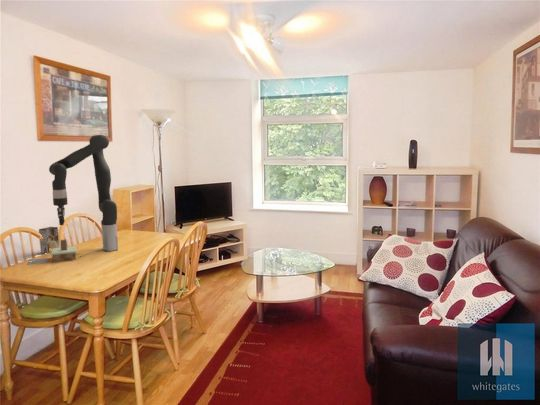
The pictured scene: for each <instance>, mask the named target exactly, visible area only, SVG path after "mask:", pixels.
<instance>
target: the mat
mask: <svg viewBox="0 0 540 405" xmlns="http://www.w3.org/2000/svg"><path fill="white" fill-rule="evenodd" d="M48 259H49V257H44V258H43V257H42V258H32V259H28V261H27V263H26V266H30V265H40V264H47V262H48ZM33 260H34V261H33ZM29 261H32V262H29Z"/></svg>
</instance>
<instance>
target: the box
mask: <svg viewBox="0 0 540 405" xmlns="http://www.w3.org/2000/svg"><path fill="white" fill-rule="evenodd" d="M51 257H52V263H57V262H67V261H75V260H76V259H77V252H76V253H68V254H58V255H51Z"/></svg>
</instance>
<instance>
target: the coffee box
mask: <svg viewBox="0 0 540 405" xmlns="http://www.w3.org/2000/svg"><path fill="white" fill-rule="evenodd" d="M38 233H40V234H41V235H42V237H43V241H42V240H41V239H40V238H39V244H40V245H39V247H40V253H42V254H51V253H50V251H49V248H51V249H52V250H53V248H60V240H59V229H58V227H57V226H47V227H43V228H39V229H38Z"/></svg>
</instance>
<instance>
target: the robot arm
mask: <svg viewBox="0 0 540 405" xmlns="http://www.w3.org/2000/svg"><path fill="white" fill-rule="evenodd" d="M109 145H110V139H109V138H108V137H107V136H106V135H104V134H95V135H92V136H91V137H90V139H89V143H88V145H85V146H83V147H82V148H79V149H77V150H74V151H73V152H71V153H70V154H68V155H67V156H65V157H64V158H62V159H61V158H60V159H59V160H57V161H55V162H53V163H52V164H51V165H50V166H49V168H48V171H49V174H51V175H53V176H54V178H53V179H54V180H52V182H51V183H52V185H51V186H52V202H53V203H52V204H53V206H57V208H56V211H57V217H58V222H59V223H58V224H59V226H64V223H65V214H66V209H65V208H66V207H65V206H67V205H68V193H67V187H66V180H67V174H68V171H67V170H68V169H71V168H73V167H75V166H77V165H78V164H79V163H81V162H83V161H84V160H86V159H87V158H89V157H90V156H92V160H93V167H94V175H95V176H94V177H95V181H96V188H97V193H98V210H99V211H100V212H101V213H102V220H100V224H101V237H102V239H101V240H102V241H101V242H102V250H103V251H104V252H112V251H117V250H119V243H118V242H119V241H118V239H119V238H118V228H117V220H118V206H117V203H116V202H114V200H112V198H111V192H110V191H111V184H112V178H111V177H112V176H111V169H110V166H109V164H108V162H107V161H106V158H105V155H104V150H105V149H107V148H108V147H109Z"/></svg>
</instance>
